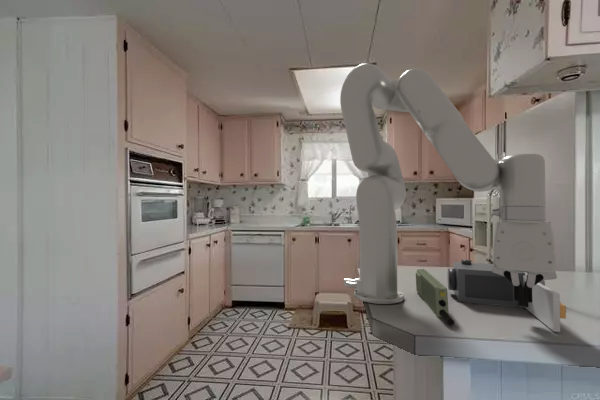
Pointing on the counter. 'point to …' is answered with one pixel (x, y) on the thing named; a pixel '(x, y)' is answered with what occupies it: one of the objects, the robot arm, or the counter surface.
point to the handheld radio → (433, 294)
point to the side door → (546, 306)
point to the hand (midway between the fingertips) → (523, 304)
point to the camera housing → (481, 284)
